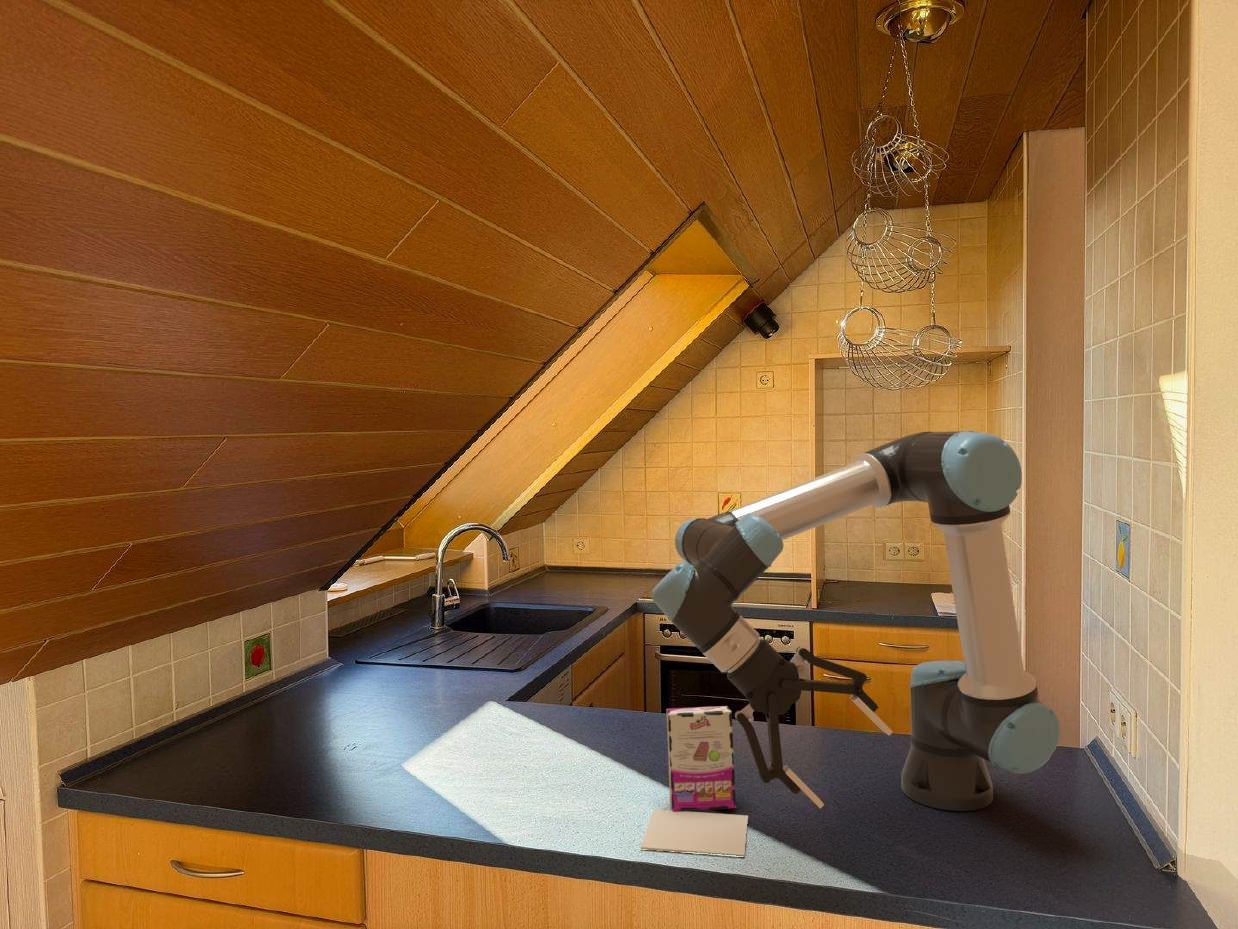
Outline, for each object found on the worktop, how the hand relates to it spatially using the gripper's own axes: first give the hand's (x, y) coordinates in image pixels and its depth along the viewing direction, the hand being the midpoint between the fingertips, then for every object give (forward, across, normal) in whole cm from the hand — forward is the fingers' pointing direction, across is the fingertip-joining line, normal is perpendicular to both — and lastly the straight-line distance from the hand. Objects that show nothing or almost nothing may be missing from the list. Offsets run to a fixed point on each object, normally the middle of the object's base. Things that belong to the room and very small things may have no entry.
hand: (854, 768), depth 116 cm
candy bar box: (-3, -23, +31) cm, 39 cm away
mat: (-3, -25, +22) cm, 34 cm away
